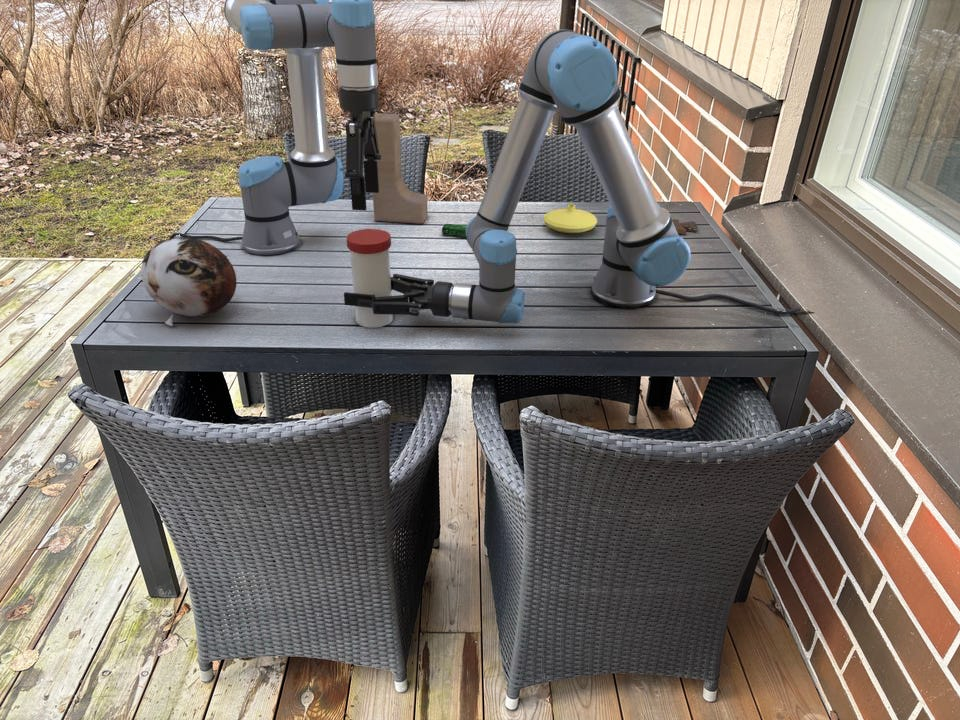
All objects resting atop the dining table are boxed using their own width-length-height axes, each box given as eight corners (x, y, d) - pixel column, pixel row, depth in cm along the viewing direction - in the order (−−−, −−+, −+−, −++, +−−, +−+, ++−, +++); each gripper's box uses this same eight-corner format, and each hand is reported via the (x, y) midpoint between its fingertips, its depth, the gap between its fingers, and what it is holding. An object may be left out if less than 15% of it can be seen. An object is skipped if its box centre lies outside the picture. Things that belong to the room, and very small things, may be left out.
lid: (346, 254, 147) (345, 245, 146) (347, 238, 155) (346, 229, 154) (391, 253, 148) (391, 243, 147) (390, 237, 156) (390, 227, 155)
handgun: (511, 219, 210) (493, 234, 198) (511, 228, 211) (492, 244, 199) (461, 212, 215) (440, 226, 203) (461, 221, 217) (440, 236, 204)
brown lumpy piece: (700, 236, 208) (693, 224, 217) (701, 230, 207) (694, 219, 216) (612, 233, 208) (607, 221, 217) (613, 227, 207) (608, 216, 216)
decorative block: (423, 224, 212) (420, 120, 197) (373, 221, 214) (367, 118, 199) (428, 216, 219) (425, 114, 203) (380, 213, 220) (374, 112, 205)
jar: (355, 328, 156) (348, 246, 146) (356, 311, 163) (349, 232, 154) (393, 326, 157) (389, 245, 147) (392, 309, 164) (388, 230, 155)
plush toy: (103, 301, 154) (138, 216, 155) (170, 324, 169) (201, 246, 171) (169, 326, 143) (206, 234, 145) (233, 348, 159) (266, 265, 160)
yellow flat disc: (559, 216, 220) (561, 193, 217) (605, 227, 212) (608, 204, 209) (532, 230, 209) (533, 207, 206) (580, 242, 201) (582, 218, 198)
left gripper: (353, 76, 145) (361, 183, 156) (321, 98, 125) (332, 218, 137) (390, 77, 145) (395, 184, 156) (363, 99, 125) (371, 220, 136)
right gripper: (440, 338, 147) (336, 326, 151) (462, 295, 165) (368, 285, 168) (439, 305, 143) (332, 294, 147) (462, 264, 161) (366, 256, 165)
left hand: (366, 200), depth 146 cm, fingers open, 11 cm apart
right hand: (352, 289), depth 158 cm, fingers closed on jar, 8 cm apart
